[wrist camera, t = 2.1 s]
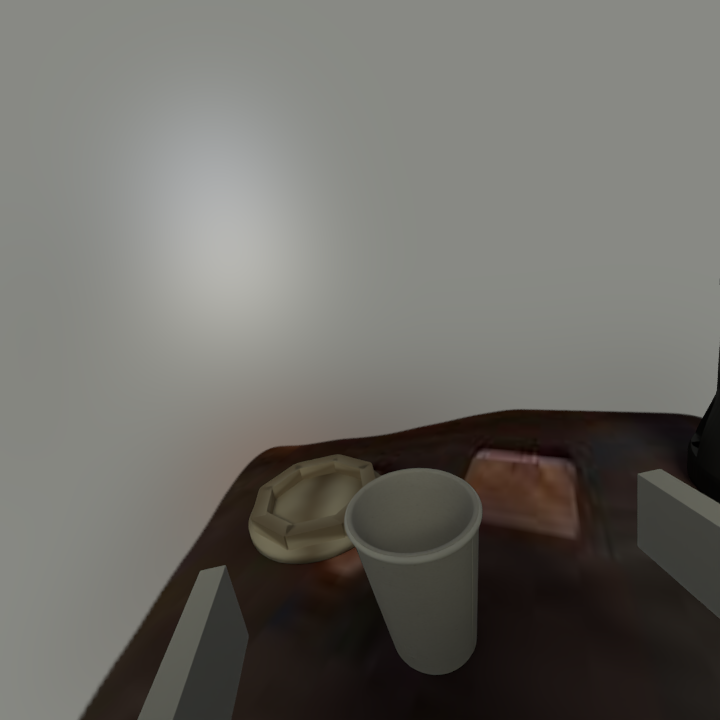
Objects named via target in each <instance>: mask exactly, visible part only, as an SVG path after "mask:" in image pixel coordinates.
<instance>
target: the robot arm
mask: <svg viewBox="0 0 720 720" xmlns="http://www.w3.org/2000/svg"><path fill="white" fill-rule="evenodd" d="M717 383H718V384H717V392H716V395H715V396H714V398H713V400H712V402H711V404H710V406H709V408H708V409H707V411H706V413H705V415H704V417H703V418H702V420H701V422H700V424H699V426H698V428H697V431H696V433H695V434H694V435H693V437H692V438H691V440H690V443H689V446H688V461H687V469H688V473H689V476H690V478H691V479H692V481H693V482H694V483H695V485H696V486H697V487H698V488H699V489H700V490H701V491H702V492H703V493H705V494H706V495H707V496H708V497H707V496H706V495H704V494H702V493H701V492H699V491H697V490H695V489H694V488H692V487H690V486H689V485H687V484H685V483H684V482H682V481H680V480H678V479H677V478H675V477H673V476H672V475H670V474H668V473H667V472H665V471H663V470H661V469H658V470H653V471H649V472H644V473H640V474H638V547H639V548H640V549H641V550H642V551H644V552H645V553H646V554H647V555H648V556H649V557H650V558H651V559H653V560H654V561H655V562H656V563H657V564H658V565H659V566H661V567H662V568H663V569H664V570H665V571H666V572H667V573H669V574H670V575H671V576H672V577H673V578H674V579H675V580H677V581H678V582H679V583H680V584H681V585H682V586H683V587H684V588H686V589H687V590H688V591H689V592H690V593H691V594H692V595H694V596H695V597H696V598H697V599H698V600H699V601H700V602H702V603H703V604H704V605H705V606H706V607H707V608H708V609H709V610H711V611H712V612H713V613H714V614H715V615H716V616H717V617H719V618H720V350H719V363H718V382H717ZM709 497H710V498H709ZM248 637H249V635H248V632H247V629H246V626H245V623H244V620H243V617H242V614H241V611H240V607H239V604H238V601H237V598H236V595H235V592H234V589H233V586H232V583H231V580H230V577H229V574H228V571H227V568H226V565H224V566H220V567H215V568H211V569H206V570H202V571H200V573H199V575H198V578H197V580H196V582H195V585H194V587H193V589H192V592H191V594H190V597H189V599H188V601H187V604H186V606H185V608H184V611H183V613H182V616H181V618H180V620H179V623H178V625H177V627H176V630H175V632H174V635H173V637H172V639H171V642H170V644H169V646H168V649H167V651H166V654H165V656H164V658H163V661H162V663H161V666H160V668H159V670H158V673H157V675H156V677H155V680H154V682H153V685H152V687H151V689H150V692H149V694H148V696H147V699H146V701H145V704H144V706H143V708H142V711H141V713H140V715H139V718H138V720H231V717H232V713H233V708H234V703H235V699H236V694H237V689H238V684H239V680H240V675H241V670H242V666H243V661H244V656H245V651H246V647H247V642H248Z"/></svg>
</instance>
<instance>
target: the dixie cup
mask: <svg viewBox="0 0 720 720" xmlns="http://www.w3.org/2000/svg"><path fill="white" fill-rule="evenodd" d="M481 520H482V504H481V501H480V498H479V496H478V494H477V493H476V491H475V490H474V489H473V488H472V487H471V486H470V485H469V484H468V483H467V482H465V481H464V480H462V479H461V478H459V477H457V476H455V475H453V474H450V473H447V472H444V471H440V470H436V469H427V468H413V469H404V470H399V471H395V472H391V473H388V474H385V475H383V476H380V477H378V478H376V479H374V480H373V481H371V482H369V483H368V484H366V485H365V486H364V487H363V488H361V489H360V490H359V491H358V492H357V493H356V494H355V495H354V497H353V498H352V499H351V501H350V503H349V504H348V506H347V509H346V512H345V517H344V525H345V530H346V533H347V536H348V538H349V539H350V541H351V542H352V543H353V545H354V546H355V547H356V549H357V551H358V554H359V557H360V559H361V562H362V564H363V567H364V569H365V572H366V574H367V577H368V579H369V582H370V584H371V587H372V589H373V592H374V595H375V597H376V600H377V602H378V605H379V607H380V610H381V612H382V615H383V617H384V620H385V622H386V625H387V628H388V630H389V633H390V635H391V638H392V640H393V643H394V645H395V648H396V650H397V652H398V654H399V655H400V657H401V658H402V659H403V660H404V662H406V663H407V664H408V665H409V666H410V667H412V668H413V669H415V670H417V671H419V672H422V673H425V674H431V675H442V674H447V673H450V672H453V671H455V670H457V669H458V668H460V667H461V666H463V665H464V664H465V663H466V662H467V661H468V659H469V658H470V656H471V655H472V653H473V652H474V650H475V646H476V642H477V602H478V542H479V526H480V523H481Z"/></svg>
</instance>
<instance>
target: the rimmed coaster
mask: <svg viewBox="0 0 720 720" xmlns="http://www.w3.org/2000/svg"><path fill="white" fill-rule="evenodd" d="M378 477H380V475H379V474H378V473H377V472H376V471H374V470H373V466H372V463H370V462H366V461H363V460H359V459H355V458H351V457H347V456H344V455H340V454H338V455H337V454H336V455H332V456H327V457H323V458H318V459H314V460H309V461H305V462H300V463H296V464H294V465H293V466H291V467H290V468H288V469H287V470H285V471H284V472H282V473H281V474H280V475H278V476H277V477H275V478H274V479H272V480H271V481H269V482H268V483H266V484H265V485H263V486H262V487H261V488H260V489H259V492H258V496H257V499H256V502H255V506H254V508H253V510H252V513H251V515H250V519H249V532H250V535H251V539H252V542H253V544H254V546H255V548H256V549H257V550H258V551H259V552H260V553H261V554H262V555H264V556H265V557H267V558H269V559H271V560H274V561H277V562H280V563H287V564H306V563H313V562H319V561H323V560H326V559H330V558H332V557H335V556H337V555H340V554H342V553H344V552H346V551H348V550H350V549H352V548H354V547H355V546H354V545H353V543H352V542H351V541H350V539H349V538H348V536H347V533H346V530H345V525H344V517H345V512H346V509H347V506H348V504H349V503H350V501H351V499H352V498H353V497H354V495H355V494H356V493H357V492H358V491H359V490H360V489H361V488H363V487H364V486H365V485H366V484H368V483H369V482H371V481H373V480H374V479H376V478H378Z"/></svg>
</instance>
